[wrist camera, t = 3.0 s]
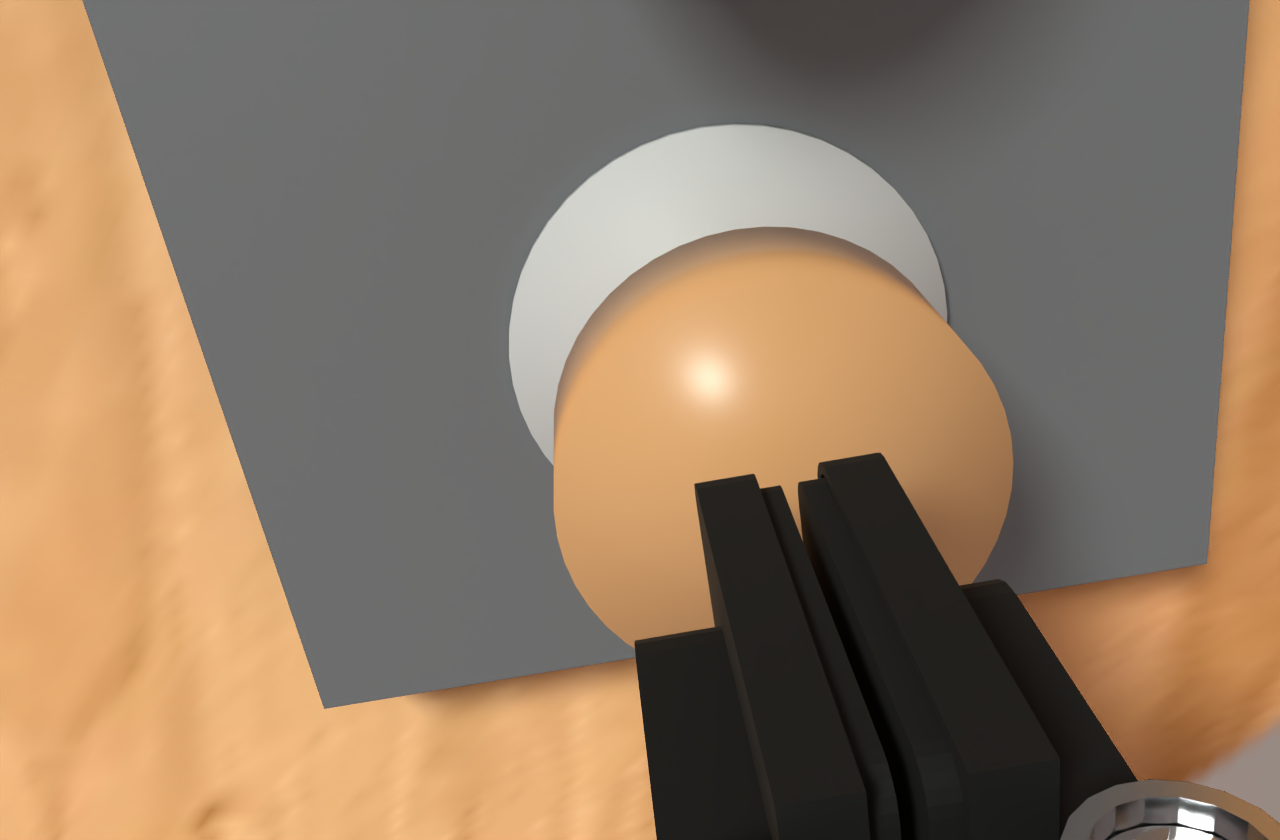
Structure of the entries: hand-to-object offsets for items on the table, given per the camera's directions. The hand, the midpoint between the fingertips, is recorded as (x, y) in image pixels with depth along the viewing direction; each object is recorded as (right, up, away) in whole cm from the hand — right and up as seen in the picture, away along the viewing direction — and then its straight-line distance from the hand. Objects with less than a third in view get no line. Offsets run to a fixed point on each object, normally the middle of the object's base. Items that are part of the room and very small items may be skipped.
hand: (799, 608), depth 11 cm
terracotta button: (0, +2, +4) cm, 5 cm away
